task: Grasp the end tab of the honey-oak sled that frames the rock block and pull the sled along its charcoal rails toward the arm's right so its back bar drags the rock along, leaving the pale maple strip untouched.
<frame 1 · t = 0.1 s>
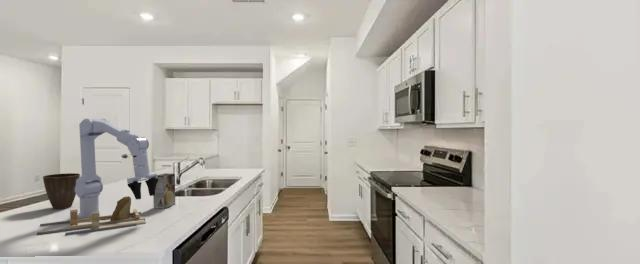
hand: (145, 197, 153), 11 cm above the counter, tool pointing down, fingers open, 7 cm apart
maple strip: (119, 217, 148), point 3 cm above the counter, slide at 0.0 cm
oak sled: (105, 214, 153), point 3 cm above the counter, slide at 1.5 cm, touching rock
coffee box: (164, 206, 182), on the counter
plant pot: (62, 207, 178), on the counter
rock: (119, 220, 156), on the counter, touching oak sled
rails: (94, 223, 151), on the counter
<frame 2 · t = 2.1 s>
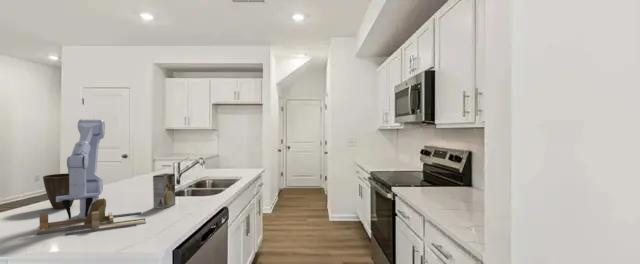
hand: (78, 217, 148), 3 cm above the counter, tool pointing down, fingers open, 5 cm apart
oak sled: (77, 217, 148), point 3 cm above the counter, slide at 11.3 cm, touching rock
rock: (93, 223, 151), on the counter, touching gripper, oak sled
everything else where it was.
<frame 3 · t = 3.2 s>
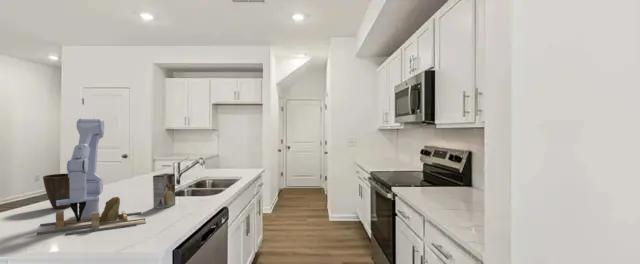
hand: (78, 221, 148), 2 cm above the counter, tool pointing down, fingers closed
oak sled: (92, 216, 150), point 3 cm above the counter, slide at 6.2 cm, touching rock
rock: (108, 221, 154), on the counter, touching oak sled
everything else where it was.
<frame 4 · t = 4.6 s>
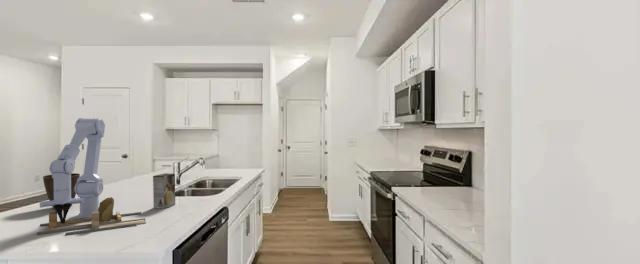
hand: (62, 222, 145), 2 cm above the counter, tool pointing down, fingers closed
oak sled: (86, 216, 149), point 3 cm above the counter, slide at 8.4 cm, touching rock, gripper
rock: (101, 221, 153), on the counter, touching oak sled
everything else where it was.
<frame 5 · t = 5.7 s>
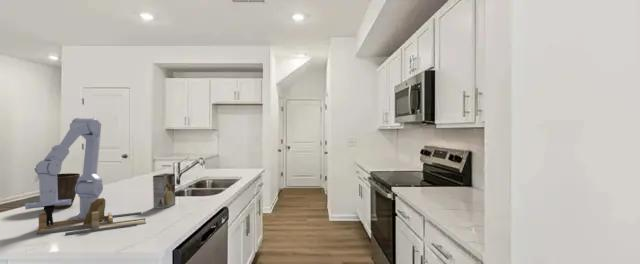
hand: (49, 224, 143), 2 cm above the counter, tool pointing down, fingers closed, pressing on oak sled
oak sled: (76, 217, 147), point 3 cm above the counter, slide at 11.5 cm, touching rock, gripper
rock: (93, 223, 151), on the counter, touching oak sled
everything else where it was.
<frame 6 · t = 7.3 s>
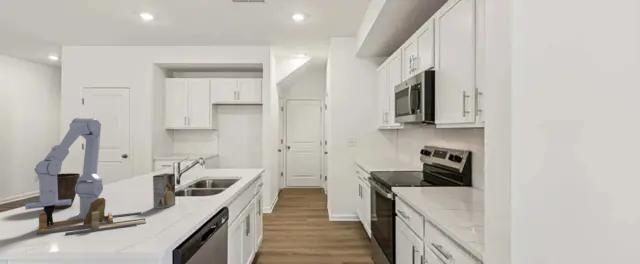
hand: (49, 224, 143), 2 cm above the counter, tool pointing down, fingers closed, pressing on oak sled
oak sled: (77, 217, 148), point 3 cm above the counter, slide at 11.5 cm, touching rock, gripper
everything else where it was.
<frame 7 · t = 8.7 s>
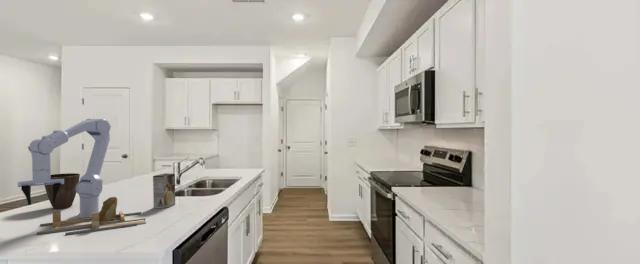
hand: (42, 203, 143), 10 cm above the counter, tool pointing down, fingers open, 7 cm apart
oak sled: (89, 216, 150), point 3 cm above the counter, slide at 7.2 cm, touching rock
rock: (105, 221, 153), touching oak sled
everything else where it was.
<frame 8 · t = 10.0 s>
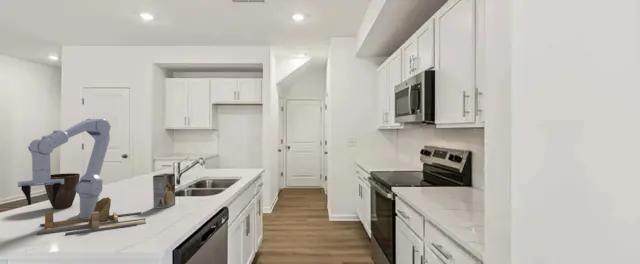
hand: (42, 203, 143), 10 cm above the counter, tool pointing down, fingers open, 7 cm apart
oak sled: (82, 217, 149), point 3 cm above the counter, slide at 9.6 cm, touching rock
rock: (98, 222, 152), touching oak sled
everything else where it was.
at the end: oak sled slide at 9.4 cm; rock tilted 3° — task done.
